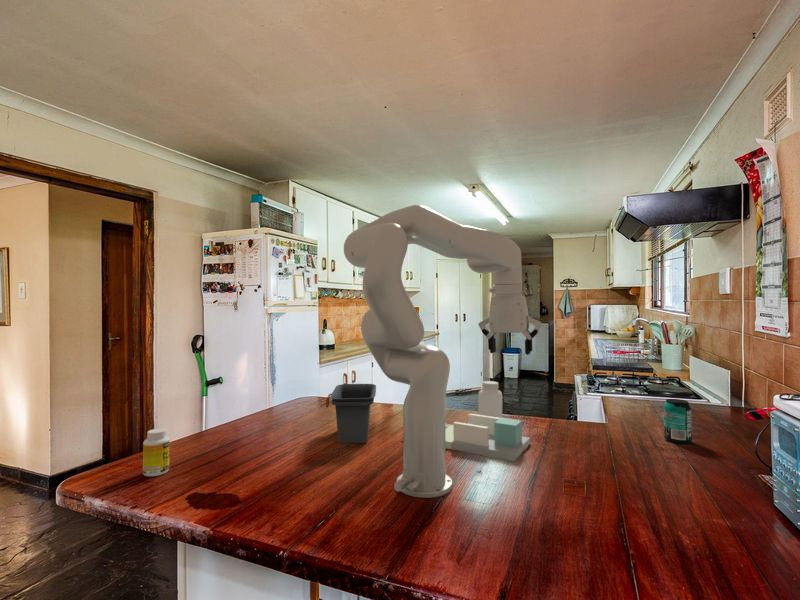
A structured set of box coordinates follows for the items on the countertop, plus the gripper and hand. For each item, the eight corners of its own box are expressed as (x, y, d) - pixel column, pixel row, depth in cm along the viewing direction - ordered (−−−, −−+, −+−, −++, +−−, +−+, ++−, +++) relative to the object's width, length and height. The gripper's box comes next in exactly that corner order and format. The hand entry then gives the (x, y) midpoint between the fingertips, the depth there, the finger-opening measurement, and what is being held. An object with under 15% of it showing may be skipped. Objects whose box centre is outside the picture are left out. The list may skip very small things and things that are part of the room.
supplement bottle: (165, 476, 97) (165, 433, 98) (139, 478, 96) (139, 434, 96) (172, 467, 103) (172, 426, 103) (147, 469, 101) (147, 428, 102)
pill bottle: (504, 430, 134) (504, 384, 134) (480, 430, 134) (480, 384, 134) (499, 423, 142) (499, 380, 142) (476, 423, 142) (476, 380, 142)
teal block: (515, 447, 111) (515, 425, 111) (494, 444, 114) (494, 422, 114) (521, 441, 116) (521, 420, 116) (501, 438, 119) (501, 417, 120)
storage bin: (375, 446, 118) (375, 397, 119) (321, 447, 118) (321, 397, 118) (376, 425, 140) (376, 383, 140) (330, 426, 139) (330, 383, 139)
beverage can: (683, 437, 126) (682, 398, 127) (697, 445, 119) (696, 403, 120) (659, 436, 127) (658, 398, 127) (671, 444, 120) (671, 403, 120)
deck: (514, 461, 106) (514, 434, 106) (402, 439, 124) (402, 416, 124) (530, 444, 120) (529, 420, 120) (427, 426, 138) (427, 405, 138)
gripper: (473, 292, 114) (475, 353, 114) (537, 290, 105) (539, 356, 105) (482, 292, 120) (484, 350, 120) (543, 290, 111) (545, 352, 112)
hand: (510, 353), depth 113 cm, fingers open, 9 cm apart
